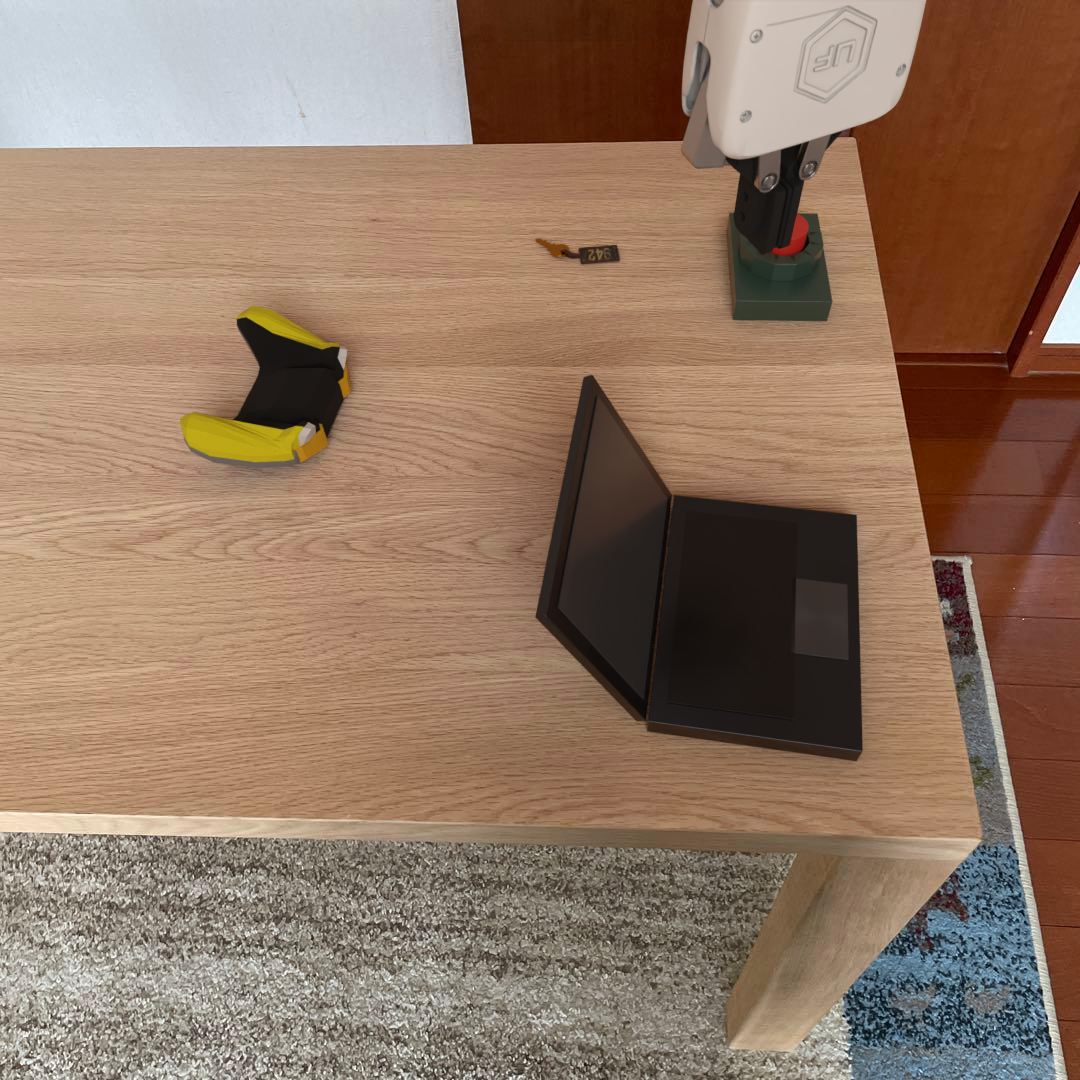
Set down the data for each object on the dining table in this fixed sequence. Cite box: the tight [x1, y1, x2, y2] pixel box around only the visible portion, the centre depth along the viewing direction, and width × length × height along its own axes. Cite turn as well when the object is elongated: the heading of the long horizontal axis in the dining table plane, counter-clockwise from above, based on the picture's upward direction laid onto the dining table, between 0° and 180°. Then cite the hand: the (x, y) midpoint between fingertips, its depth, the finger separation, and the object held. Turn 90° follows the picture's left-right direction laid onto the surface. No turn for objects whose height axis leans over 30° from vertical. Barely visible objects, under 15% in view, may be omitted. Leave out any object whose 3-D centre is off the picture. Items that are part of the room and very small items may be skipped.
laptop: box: [646, 494, 864, 762], centre depth 63 cm, size 13×18×2 cm
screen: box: [534, 374, 673, 723], centre depth 59 cm, size 13×18×1 cm
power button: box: [769, 214, 809, 255], centre depth 80 cm, size 4×4×2 cm
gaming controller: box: [179, 305, 352, 469], centre depth 74 cm, size 15×6×10 cm
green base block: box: [726, 212, 833, 322], centre depth 82 cm, size 12×8×4 cm, turn 176°
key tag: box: [535, 238, 621, 265], centre depth 86 cm, size 8×3×1 cm, turn 80°
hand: (761, 236), depth 52 cm, fingers closed
